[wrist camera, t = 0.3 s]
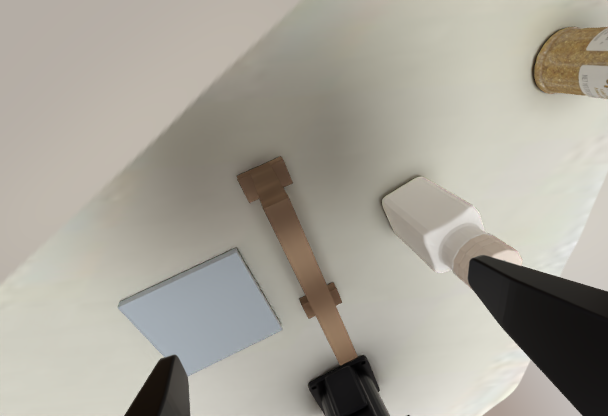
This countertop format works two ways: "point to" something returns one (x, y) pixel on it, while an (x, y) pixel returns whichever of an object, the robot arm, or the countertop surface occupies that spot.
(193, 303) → the slate coaster
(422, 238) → the pepper shaker
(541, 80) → the spice jar
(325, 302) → the walnut screen
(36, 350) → the countertop surface
